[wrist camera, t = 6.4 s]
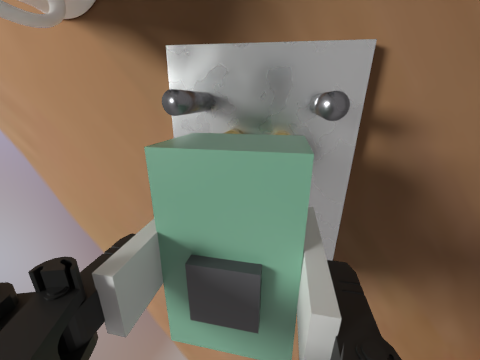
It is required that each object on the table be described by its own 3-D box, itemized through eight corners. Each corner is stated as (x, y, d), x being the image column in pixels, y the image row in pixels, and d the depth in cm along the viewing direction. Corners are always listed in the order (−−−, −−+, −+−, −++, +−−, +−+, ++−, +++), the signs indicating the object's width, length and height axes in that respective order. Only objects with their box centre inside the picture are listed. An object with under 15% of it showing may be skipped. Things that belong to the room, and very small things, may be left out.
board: (193, 132, 12) (133, 150, 8) (304, 135, 11) (316, 158, 6) (202, 276, 16) (165, 352, 11) (290, 290, 14) (290, 381, 10)
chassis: (172, 48, 17) (116, 23, 11) (370, 43, 14) (423, 8, 9) (189, 260, 24) (159, 308, 18) (325, 281, 21) (338, 345, 16)
